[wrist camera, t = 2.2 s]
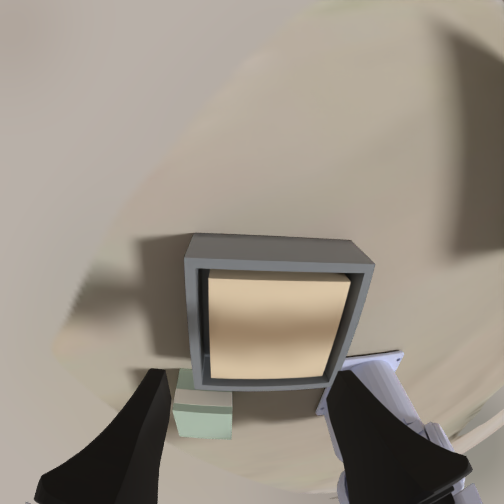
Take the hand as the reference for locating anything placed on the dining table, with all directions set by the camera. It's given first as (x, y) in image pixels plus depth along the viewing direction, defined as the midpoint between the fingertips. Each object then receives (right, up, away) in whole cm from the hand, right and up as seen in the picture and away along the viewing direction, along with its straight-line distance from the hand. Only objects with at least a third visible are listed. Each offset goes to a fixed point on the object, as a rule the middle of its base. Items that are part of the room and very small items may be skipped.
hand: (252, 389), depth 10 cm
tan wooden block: (+1, +1, +9) cm, 10 cm away
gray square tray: (+1, +2, +10) cm, 10 cm away
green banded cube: (-4, -7, +14) cm, 16 cm away
